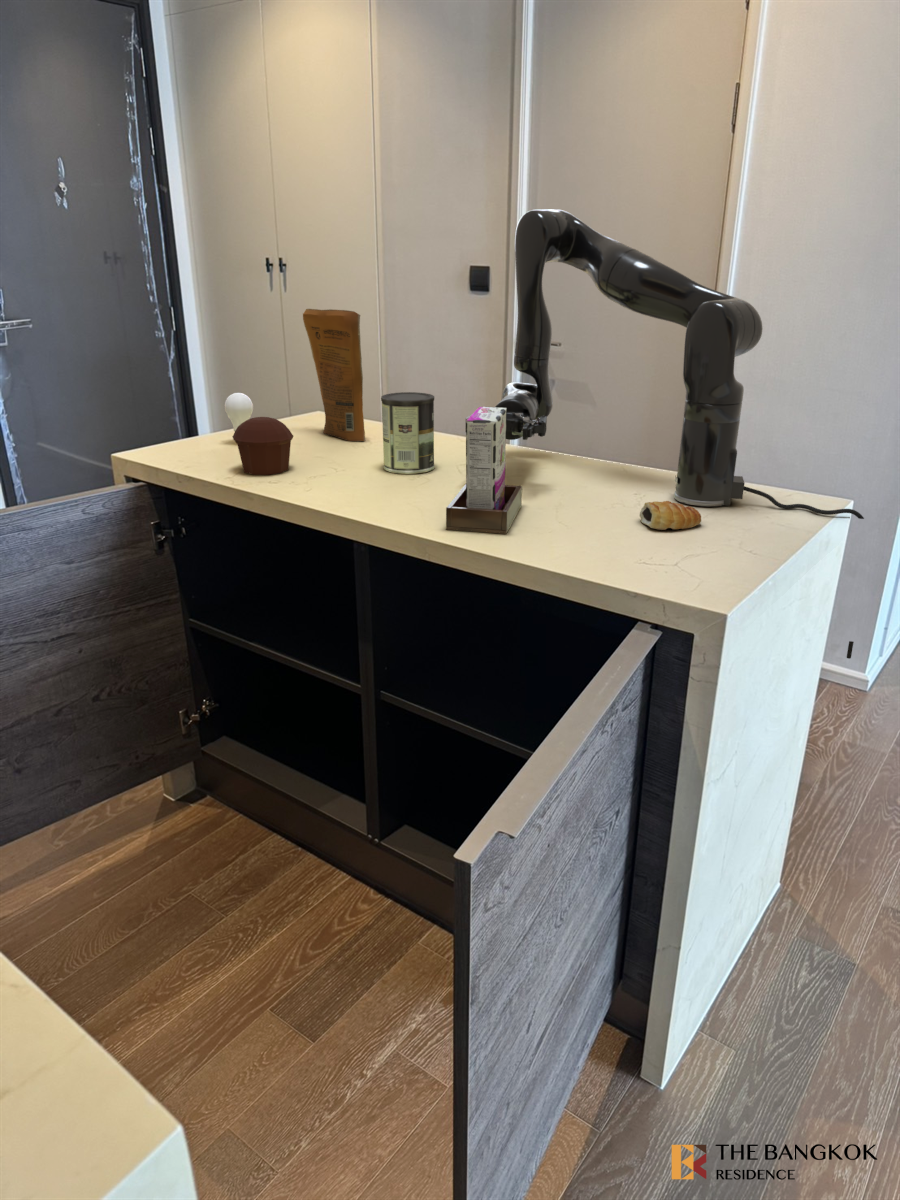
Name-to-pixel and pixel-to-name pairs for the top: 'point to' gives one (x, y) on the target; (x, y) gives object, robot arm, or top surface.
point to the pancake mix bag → (338, 369)
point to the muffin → (263, 445)
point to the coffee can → (408, 432)
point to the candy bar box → (486, 458)
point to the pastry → (669, 515)
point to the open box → (483, 513)
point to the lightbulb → (238, 408)
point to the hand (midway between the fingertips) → (500, 432)
